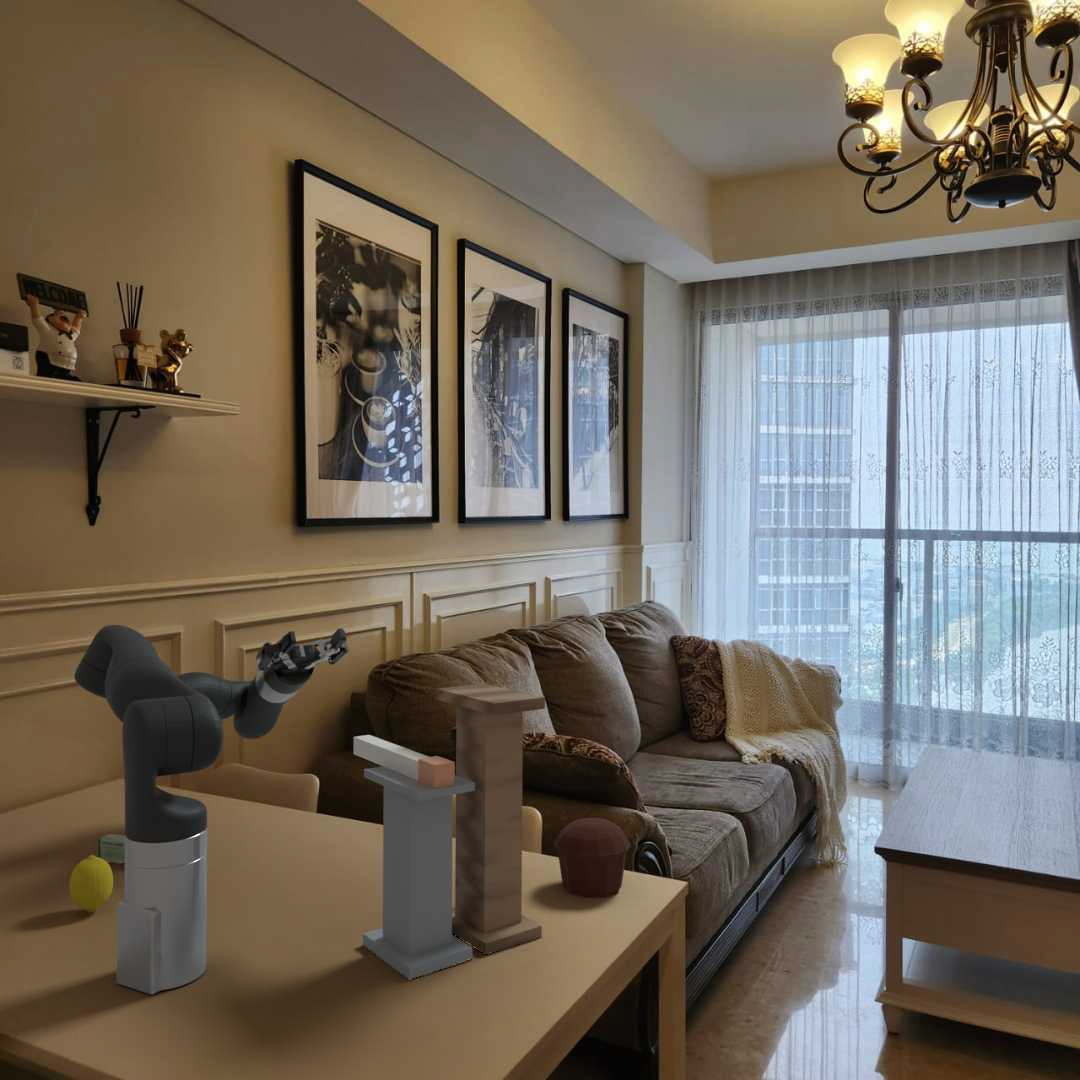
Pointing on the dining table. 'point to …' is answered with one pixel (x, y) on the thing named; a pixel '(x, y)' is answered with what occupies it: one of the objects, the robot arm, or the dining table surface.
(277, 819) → the dining table surface
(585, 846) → the muffin
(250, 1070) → the dining table surface
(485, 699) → the tall tower
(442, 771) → the white square bar
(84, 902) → the lemon
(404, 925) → the grey pedestal column
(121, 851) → the medication box
